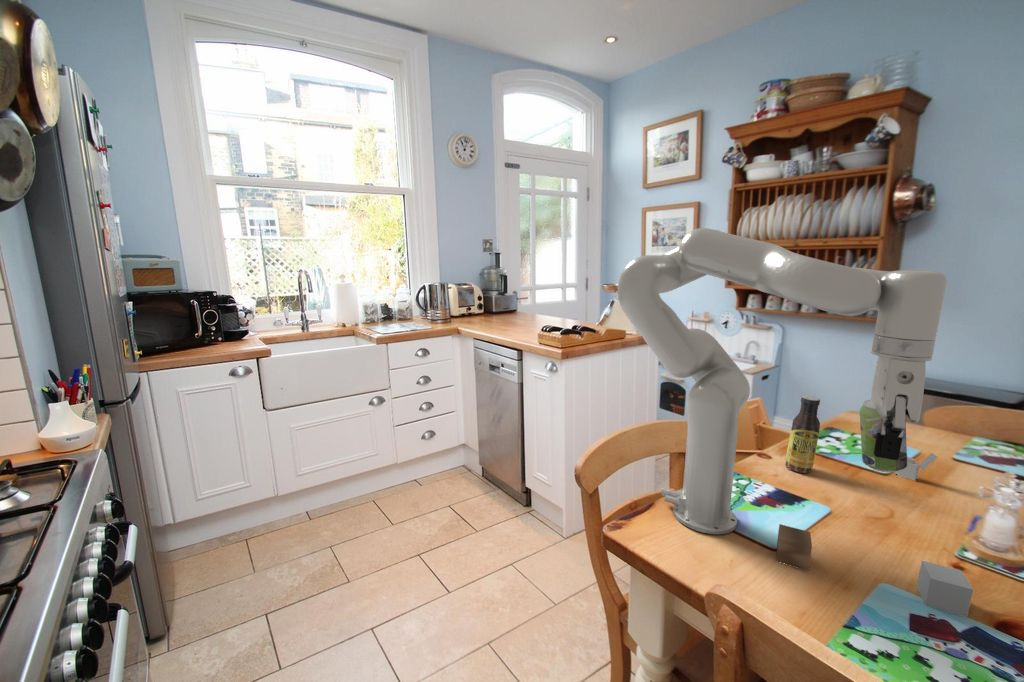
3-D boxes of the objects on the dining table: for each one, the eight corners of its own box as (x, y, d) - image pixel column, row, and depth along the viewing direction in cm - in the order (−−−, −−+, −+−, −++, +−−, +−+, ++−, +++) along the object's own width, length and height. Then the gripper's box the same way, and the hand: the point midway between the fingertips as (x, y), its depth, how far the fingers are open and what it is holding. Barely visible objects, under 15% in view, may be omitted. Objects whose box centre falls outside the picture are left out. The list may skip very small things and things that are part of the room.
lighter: (894, 474, 117) (899, 445, 115) (897, 473, 118) (902, 444, 116) (930, 486, 111) (936, 456, 109) (932, 484, 112) (938, 454, 110)
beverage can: (914, 478, 75) (926, 410, 72) (864, 475, 76) (874, 408, 74) (891, 460, 81) (901, 397, 78) (845, 457, 82) (854, 395, 80)
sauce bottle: (787, 472, 118) (796, 399, 114) (782, 462, 124) (791, 392, 120) (816, 476, 116) (827, 402, 112) (810, 466, 121) (820, 395, 118)
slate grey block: (925, 605, 73) (930, 578, 72) (916, 586, 78) (921, 560, 77) (966, 617, 71) (973, 589, 70) (955, 597, 75) (961, 570, 74)
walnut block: (776, 562, 83) (779, 537, 82) (776, 547, 88) (779, 523, 87) (808, 571, 81) (812, 546, 80) (806, 555, 85) (810, 532, 84)
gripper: (950, 360, 64) (926, 479, 68) (918, 341, 78) (899, 440, 82) (883, 354, 68) (863, 467, 71) (864, 337, 82) (848, 432, 85)
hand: (883, 452), depth 76 cm, fingers closed on beverage can, 3 cm apart
